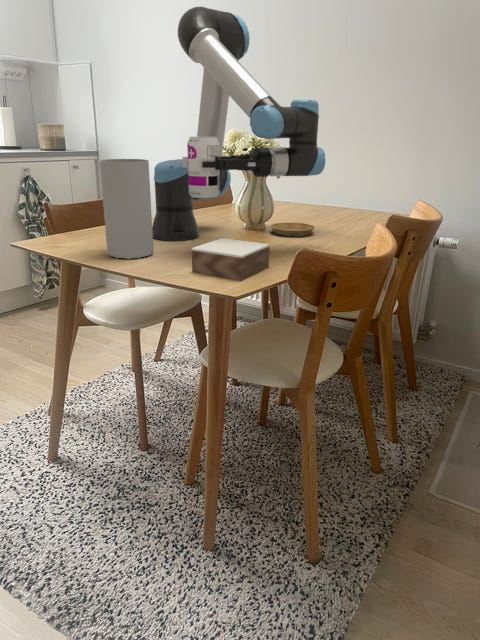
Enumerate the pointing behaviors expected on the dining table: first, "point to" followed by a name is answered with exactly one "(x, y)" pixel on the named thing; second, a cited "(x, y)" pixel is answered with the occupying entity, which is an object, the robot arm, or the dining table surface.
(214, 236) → the dining table surface
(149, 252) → the cylinder vase
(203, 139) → the supplement can
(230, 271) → the block
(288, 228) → the plant saucer
